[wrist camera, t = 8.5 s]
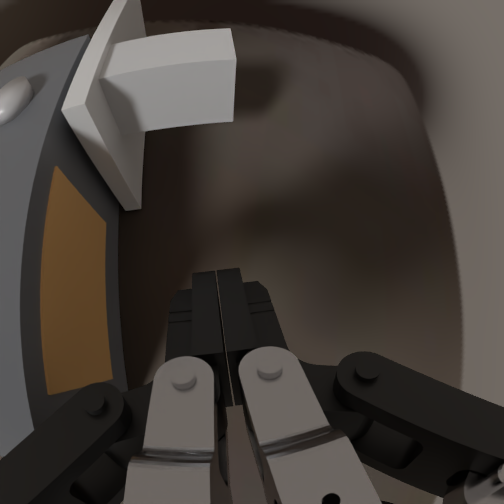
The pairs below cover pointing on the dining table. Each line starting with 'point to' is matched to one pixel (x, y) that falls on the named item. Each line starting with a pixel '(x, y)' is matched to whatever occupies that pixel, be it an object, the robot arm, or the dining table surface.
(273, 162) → the dining table surface
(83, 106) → the side cover
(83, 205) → the box
